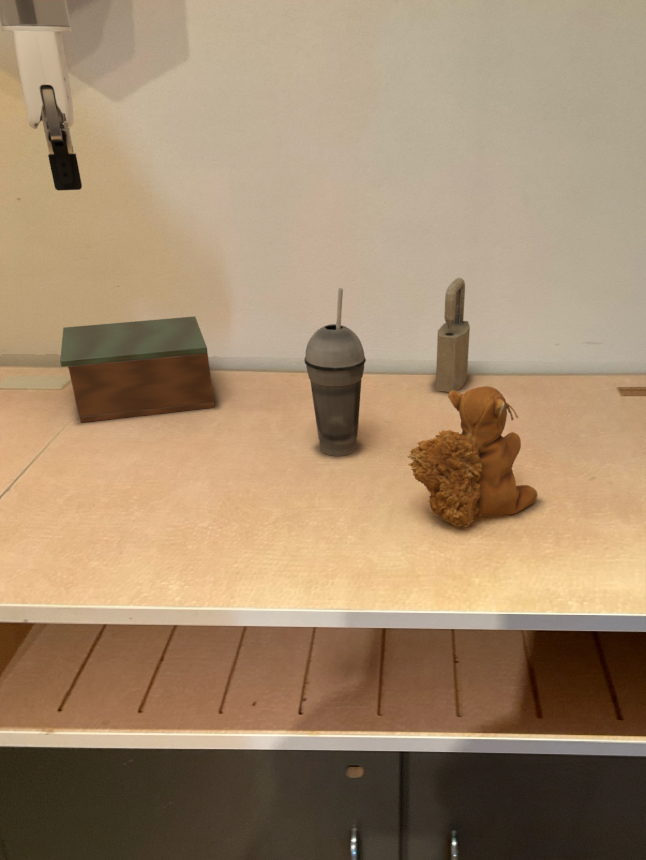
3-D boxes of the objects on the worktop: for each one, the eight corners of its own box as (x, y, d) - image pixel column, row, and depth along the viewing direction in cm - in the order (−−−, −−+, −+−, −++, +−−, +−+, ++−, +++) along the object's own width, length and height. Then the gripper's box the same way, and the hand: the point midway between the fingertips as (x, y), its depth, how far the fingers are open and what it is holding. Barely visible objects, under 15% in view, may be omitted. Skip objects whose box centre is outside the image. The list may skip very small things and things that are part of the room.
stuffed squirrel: (542, 499, 89) (555, 388, 82) (468, 550, 80) (475, 430, 73) (470, 472, 94) (477, 366, 87) (393, 517, 85) (393, 403, 78)
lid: (61, 367, 101) (60, 361, 101) (64, 332, 113) (63, 327, 112) (207, 352, 106) (206, 347, 106) (196, 321, 118) (195, 316, 117)
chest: (80, 422, 105) (68, 366, 101) (81, 384, 117) (70, 332, 113) (214, 407, 110) (207, 353, 106) (202, 372, 122) (196, 321, 118)
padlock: (431, 390, 116) (435, 287, 108) (445, 371, 123) (449, 273, 115) (457, 393, 116) (463, 289, 108) (470, 374, 122) (476, 275, 114)
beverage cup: (334, 431, 104) (328, 275, 93) (378, 445, 100) (377, 285, 90) (297, 450, 99) (286, 288, 88) (342, 466, 95) (336, 299, 85)
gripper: (4, 17, 96) (40, 181, 106) (-8, 14, 84) (34, 200, 94) (70, 18, 98) (99, 179, 108) (67, 16, 86) (100, 197, 96)
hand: (68, 188), depth 101 cm, fingers closed
